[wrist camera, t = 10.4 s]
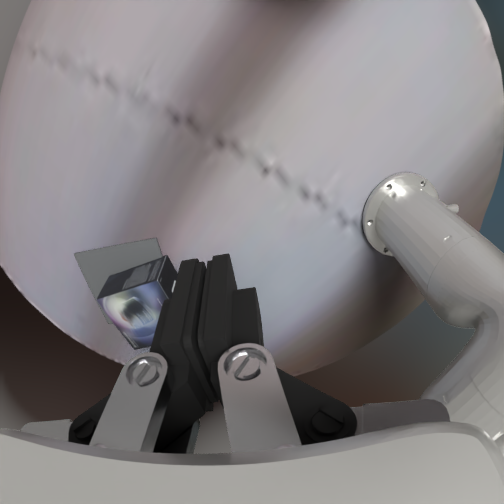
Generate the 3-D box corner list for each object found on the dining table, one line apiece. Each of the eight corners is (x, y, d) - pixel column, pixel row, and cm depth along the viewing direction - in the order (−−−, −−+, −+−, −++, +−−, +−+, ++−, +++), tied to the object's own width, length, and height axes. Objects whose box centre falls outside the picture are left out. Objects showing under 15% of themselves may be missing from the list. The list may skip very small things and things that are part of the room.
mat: (156, 237, 40) (156, 238, 40) (184, 315, 47) (183, 316, 47) (74, 253, 40) (73, 254, 40) (108, 322, 47) (108, 323, 47)
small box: (194, 339, 40) (134, 352, 42) (199, 308, 46) (143, 323, 48) (156, 280, 35) (93, 301, 37) (167, 253, 41) (109, 274, 42)
